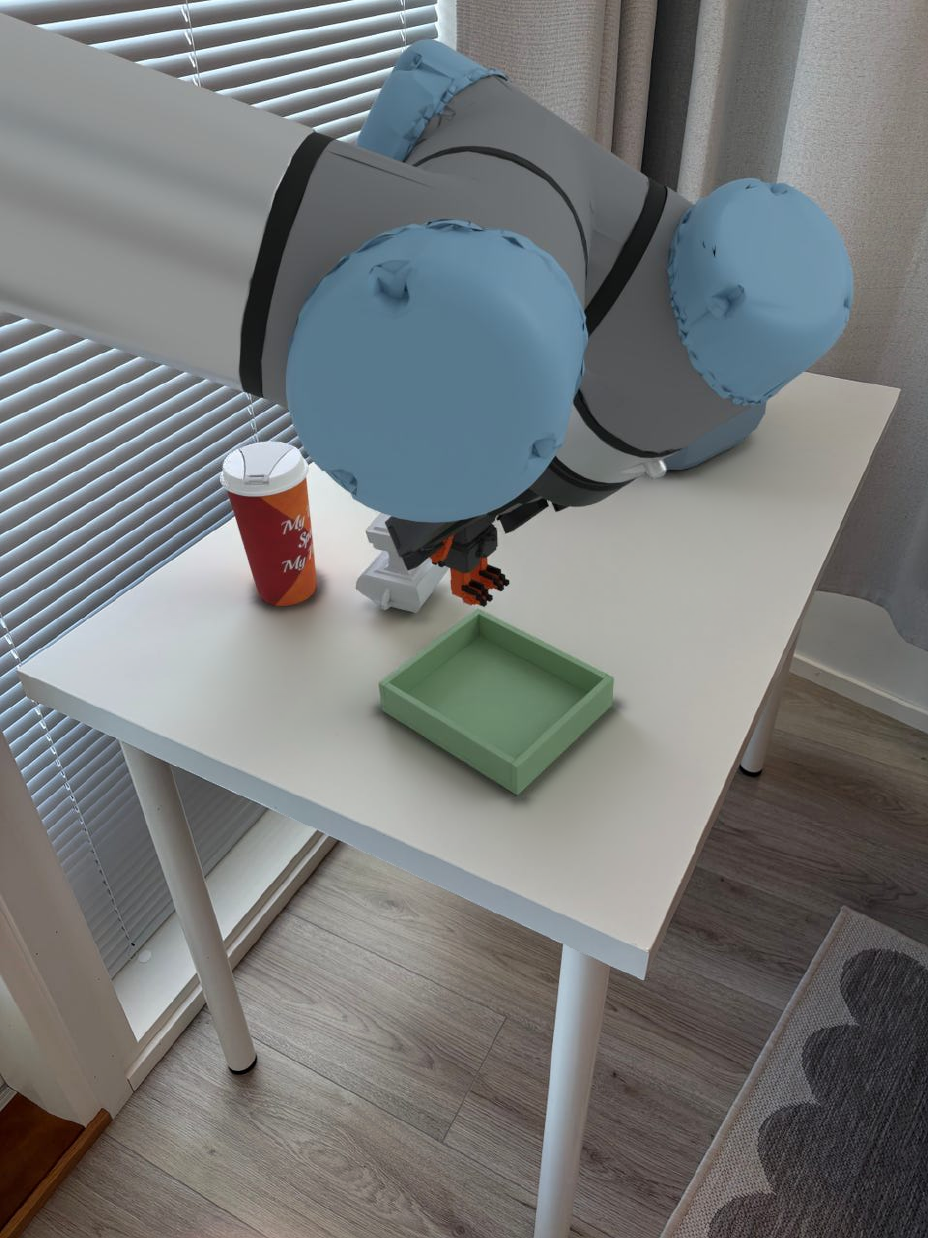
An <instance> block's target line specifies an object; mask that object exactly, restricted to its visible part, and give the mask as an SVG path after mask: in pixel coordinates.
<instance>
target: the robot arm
mask: <svg viewBox="0 0 928 1238" xmlns="http://www.w3.org/2000/svg"><path fill="white" fill-rule="evenodd" d="M509 79H510V77H509V76H508V75H506V74H505V73H503V72H502V71H500V70H498V69H497V68H491V67H490V68H487V67H485V66H483V65H481V64H479V63H478V62H476V61H474V60H472V59H470V58H469V57H467V56H465V55H464V54H462V53H461V52H458V51H457V50H455V49H453V48H452V47H451V46H449V45H447V44H445V43H443V42H442V41H439V40H436V39H431V38H426V39H425V38H424V39H420V40H417V41H414V43H412V44H410V45H408V46H407V47H406V48H405V49H404V50H403V52H402V53H401V54H400V56H399V57H398V59H397V61H396V63H394V67H393V68H392V70H391V72H390V73H389V75H388V76H387V77H386V79H385V81H384V83H383V85H382V87H381V88H380V90H379V92H378V93H377V96H376V98H375V99H374V101H373V103H372V106H371V108H370V110H369V113H368V115H367V116H366V118H365V120H364V122H363V125H362V127H361V129H360V132H359V134H358V136H357V138H356V139H355V142H354V144H352V143H349V142H346V141H342V140H339V139H336V138H333V137H331V136H328V135H326V134H324V133H321V132H317V131H316V129H315V128H313V127H311V126H307V125H305V124H302V123H300V122H296V121H294V120H291V119H289V118H286V117H283V116H281V115H278V114H276V113H273V112H270V111H267V110H264V109H262V108H259V107H256V106H254V105H251V104H248V103H246V102H243V101H240V100H237V99H236V98H235V99H234V98H232V97H229V96H226V95H224V94H221V93H219V92H216V91H213V90H211V89H208V88H205V87H202V86H200V85H197V84H195V83H192V82H189V81H186V80H184V79H181V78H178V77H175V76H173V75H170V74H167V73H164V72H162V71H159V70H157V69H154V68H151V67H149V66H145V65H143V64H140V63H137V62H135V61H132V60H129V59H127V58H124V57H121V56H119V55H116V54H114V53H111V52H108V51H105V50H102V49H99V48H97V47H95V46H92V45H89V44H86V43H83V42H81V41H78V40H75V39H72V38H70V37H67V36H65V35H62V34H60V33H56V32H54V31H51V30H48V29H46V28H43V27H40V26H37V25H35V24H32V23H29V22H27V21H24V20H22V19H19V18H16V17H13V16H10V15H8V14H5V13H4V12H3V13H2V12H0V311H1V312H5V313H9V314H11V315H14V316H17V317H20V318H23V319H26V320H29V321H32V322H34V323H37V324H41V325H44V326H47V327H50V328H53V329H55V330H59V331H62V332H65V333H67V334H70V335H73V336H76V337H78V338H82V339H86V340H88V341H91V342H94V343H97V344H100V345H103V346H106V347H110V348H112V349H116V350H118V351H121V352H124V353H127V354H130V355H133V356H136V357H139V358H141V359H145V360H148V361H150V362H154V363H157V364H159V365H162V366H166V367H169V368H171V369H175V370H177V371H180V372H183V373H186V374H189V375H193V376H195V377H198V378H201V379H204V380H207V381H210V382H213V383H216V384H219V385H222V386H225V387H228V388H231V389H233V390H237V391H240V392H243V393H245V394H249V395H252V396H255V397H258V398H261V399H263V400H266V401H268V402H271V403H273V404H275V405H278V406H280V407H281V408H285V409H287V410H288V412H289V416H290V419H291V423H292V425H293V428H294V430H295V432H296V435H297V437H298V439H299V441H300V443H301V445H302V447H303V449H304V451H305V452H306V454H307V455H308V456H309V458H310V459H311V460H312V462H313V463H314V464H315V465H316V466H317V467H318V469H320V471H321V472H325V473H326V475H328V476H329V477H330V479H332V480H333V481H334V482H335V483H336V484H337V485H339V486H340V487H342V489H344V490H345V491H346V492H347V493H349V494H350V497H352V500H354V501H356V502H358V503H360V504H362V505H363V506H365V507H367V508H369V509H371V510H373V511H375V512H378V513H379V514H380V513H383V514H386V515H389V516H391V517H390V518H389V519H388V520H387V521H385V525H386V527H387V529H388V532H389V534H390V536H391V539H392V541H393V543H394V546H395V548H396V550H397V553H398V555H399V557H402V559H403V561H404V563H405V566H406V568H407V570H408V571H409V570H411V569H414V568H417V567H418V566H419V565H420V564H422V563H423V562H424V561H425V560H427V559H428V558H429V557H430V556H432V555H433V554H434V553H435V552H437V551H438V550H439V549H440V548H442V547H443V546H444V545H445V544H444V542H443V541H444V540H445V539H447V538H449V537H450V536H452V535H454V534H456V533H457V532H459V531H461V530H463V529H464V528H466V527H468V526H469V525H471V524H473V523H475V522H476V521H478V520H480V519H482V518H483V517H485V516H487V515H489V516H491V517H495V516H497V517H498V516H499V515H502V516H501V519H500V520H499V522H500V524H501V527H502V529H503V532H504V534H505V535H506V534H509V533H511V532H514V531H516V530H518V529H519V528H520V527H521V526H523V525H524V524H526V523H528V522H529V521H531V520H532V519H533V518H534V517H536V516H537V515H539V514H540V513H542V512H543V511H544V510H546V509H547V508H548V507H550V504H549V502H550V503H551V505H552V508H553V510H554V512H555V513H558V512H561V511H563V510H566V509H568V508H569V507H570V508H581V507H587V506H592V505H595V504H597V503H600V502H602V501H604V500H606V499H607V498H608V497H610V496H612V495H614V494H615V493H616V492H619V491H620V490H621V489H623V488H625V487H626V486H627V485H629V484H631V483H633V482H634V481H635V480H636V479H637V478H638V477H640V476H641V475H643V474H644V473H646V475H647V476H648V477H649V479H653V480H657V479H659V478H662V477H664V476H665V474H667V471H668V470H667V468H666V465H665V463H664V461H663V459H665V458H667V457H669V456H671V455H673V454H675V453H676V452H677V451H679V450H681V449H683V448H684V447H686V446H688V445H690V444H692V443H693V442H695V441H696V440H698V439H700V438H701V437H703V436H705V435H706V434H708V433H709V432H711V431H713V430H714V429H716V428H718V427H719V426H721V425H722V424H724V423H726V422H727V421H729V420H731V419H732V418H734V417H736V416H737V415H739V414H741V413H742V412H744V411H746V410H747V409H749V408H751V407H752V406H754V405H757V404H759V403H764V402H766V401H767V402H768V401H769V400H770V399H771V398H773V397H775V396H776V395H777V394H779V392H780V391H781V390H782V389H783V388H784V387H786V386H787V385H788V384H790V383H791V382H792V381H793V380H795V379H796V378H797V377H799V376H800V375H801V374H803V373H805V371H807V370H808V369H809V368H811V367H812V366H813V365H814V364H815V363H816V362H817V361H818V360H819V359H821V358H822V357H823V356H824V355H826V354H827V353H828V352H829V351H830V350H831V348H832V347H834V345H835V344H836V343H837V342H838V340H839V339H840V337H841V335H842V334H843V332H844V330H845V328H846V326H847V324H848V322H849V320H850V314H851V309H852V305H853V298H854V275H853V274H854V273H853V267H852V263H851V260H850V256H849V253H848V249H847V247H846V245H845V242H844V240H843V238H842V236H841V234H840V232H839V231H838V229H837V227H836V226H835V224H834V223H833V221H832V220H831V218H830V217H829V215H828V214H827V213H826V212H825V211H824V210H823V209H822V208H821V207H820V206H819V205H818V204H817V203H816V201H815V200H813V199H811V198H810V197H809V196H808V195H807V194H806V193H803V192H802V191H801V190H799V189H797V188H796V187H793V186H791V185H789V184H787V183H785V182H776V183H775V182H765V181H761V180H760V179H759V178H755V177H745V178H738V179H735V180H731V181H729V182H727V183H725V184H723V185H721V186H718V187H717V188H716V189H714V190H713V191H712V192H711V193H709V194H707V196H703V197H700V198H699V199H697V200H696V202H695V204H694V203H692V202H691V201H689V200H688V199H687V198H685V197H684V196H682V195H681V194H679V193H678V192H676V191H674V190H673V189H671V188H670V187H668V186H666V185H661V184H660V183H658V182H657V181H656V180H654V179H653V178H651V177H649V176H646V175H645V173H642V172H641V171H640V170H637V169H636V168H635V167H633V166H632V165H630V164H629V163H627V162H626V161H625V160H623V159H621V158H620V157H619V156H617V155H616V154H614V153H613V152H611V151H610V150H608V149H607V148H606V147H604V146H602V144H600V143H598V142H597V141H595V140H594V139H592V138H591V137H589V136H588V135H586V134H585V133H583V132H582V131H581V130H579V129H578V128H576V127H575V126H573V125H572V124H571V123H569V122H567V121H566V120H564V119H563V118H561V117H560V116H559V115H557V114H555V113H554V112H553V111H551V109H548V108H547V107H545V106H544V105H543V104H541V103H540V102H538V101H537V100H535V99H534V98H533V97H531V96H529V95H528V94H526V93H525V92H523V91H522V90H521V89H519V88H517V87H516V86H515V85H513V84H512V83H511V82H510V81H509ZM767 402H766V403H767ZM515 508H517V510H516V511H515V512H514V511H512V510H514V509H515ZM510 511H511V512H510Z"/></svg>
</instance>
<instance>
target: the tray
mask: <svg viewBox="0 0 928 1238" xmlns="http://www.w3.org/2000/svg"><path fill="white" fill-rule="evenodd" d="M614 683H615V677H613V676H612V675H610V674H608V673H605V672H604V671H602V670H600V669H598V668H596V667H594V666H592V665H591V664H588V663H586V662H584V661H583V660H580V659H579V658H576V657H574V656H572V655H571V654H569V653H567V652H564V651H563V650H560V649H559V648H557V647H555V646H553V645H551V644H550V643H547V642H546V641H544V640H541V639H539V638H537V637H536V636H534V635H531V634H530V633H528V632H526V631H524V630H521V628H518V627H516V626H514V625H512V624H510V623H508V622H506V621H504V620H502V619H500V618H498V617H497V616H494V615H492V614H490V613H488V612H486V611H484V610H482V609H480V608H476V609H475V610H473V611H472V612H471V613H469V614H468V615H467V616H466V617H464V618H463V619H462V620H460V621H459V622H458V623H455V625H453V626H451V628H449V629H448V630H447V631H446V632H444V633H443V634H442V635H440V636H439V637H438V638H436V639H435V640H434V641H432V642H431V643H430V644H428V645H427V646H426V647H424V648H423V649H421V650H420V651H419V652H418V653H416V654H415V655H413V656H412V657H411V658H409V659H408V660H407V661H405V662H404V663H403V664H401V665H400V666H398V668H396V669H394V670H393V671H392V672H390V674H388V675H386V676H385V677H384V678H382V679H381V680H380V681H379V682H378V683H377V684H378V690H379V691H378V692H379V697H380V698H379V699H380V705H381V711H382V712H384V713H385V714H387V715H389V716H390V717H392V718H393V719H395V720H397V722H400V723H401V724H402V725H405V726H406V727H408V728H409V729H410V730H412V731H414V732H416V733H417V734H419V735H420V736H422V737H424V738H425V739H427V740H428V741H430V742H432V743H433V744H434V745H436V746H438V747H440V748H441V749H442V750H444V751H446V752H447V753H449V754H451V756H454V757H455V758H457V759H458V760H460V761H462V762H463V763H465V764H466V765H468V766H469V767H471V768H473V769H474V770H476V771H477V772H479V773H481V775H483V776H485V777H487V778H489V779H490V780H491V781H493V782H495V784H496V783H497V784H498V785H499V786H501V787H503V788H504V789H506V790H507V791H508V792H511V793H512V794H514V795H516V796H519V795H520V794H521V793H522V792H523V791H524V790H525V789H526V788H528V786H529V785H531V784H532V783H533V782H534V781H535V780H536V779H537V778H538V777H539V776H540V775H541V774H542V773H543V772H544V771H545V770H547V768H548V767H549V766H550V765H552V763H553V762H555V760H556V759H558V758H559V757H560V756H561V755H562V754H563V753H564V752H565V751H566V750H567V749H569V747H570V746H571V745H572V744H573V743H574V742H575V741H576V740H578V739H579V738H580V737H581V736H582V735H583V734H584V733H585V732H586V731H587V730H588V729H589V728H590V727H591V726H592V725H593V724H594V723H595V722H596V721H597V720H598V719H599V718H600V717H602V716H603V715H604V713H606V712H607V711H608V710H609V709H610V708H611V707H612V706H613V697H614V695H613V694H614Z"/></svg>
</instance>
